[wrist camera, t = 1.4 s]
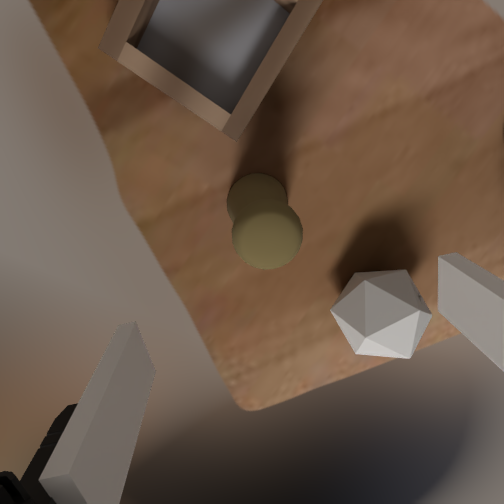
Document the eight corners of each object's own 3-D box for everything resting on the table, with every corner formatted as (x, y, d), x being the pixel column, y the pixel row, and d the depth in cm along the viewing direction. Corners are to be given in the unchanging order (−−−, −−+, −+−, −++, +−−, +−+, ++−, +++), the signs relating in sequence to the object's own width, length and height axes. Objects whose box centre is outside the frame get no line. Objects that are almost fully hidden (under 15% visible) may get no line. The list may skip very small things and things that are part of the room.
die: (393, 325, 41) (471, 324, 32) (341, 369, 37) (413, 383, 28) (357, 263, 41) (425, 245, 32) (303, 302, 37) (361, 294, 28)
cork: (255, 159, 32) (268, 180, 22) (300, 201, 34) (331, 238, 23) (214, 206, 33) (207, 246, 23) (258, 244, 35) (271, 297, 25)
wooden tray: (314, 9, 28) (325, -5, 24) (236, 139, 31) (236, 142, 28) (184, -102, 25) (177, -134, 21) (113, 55, 28) (97, 48, 25)
